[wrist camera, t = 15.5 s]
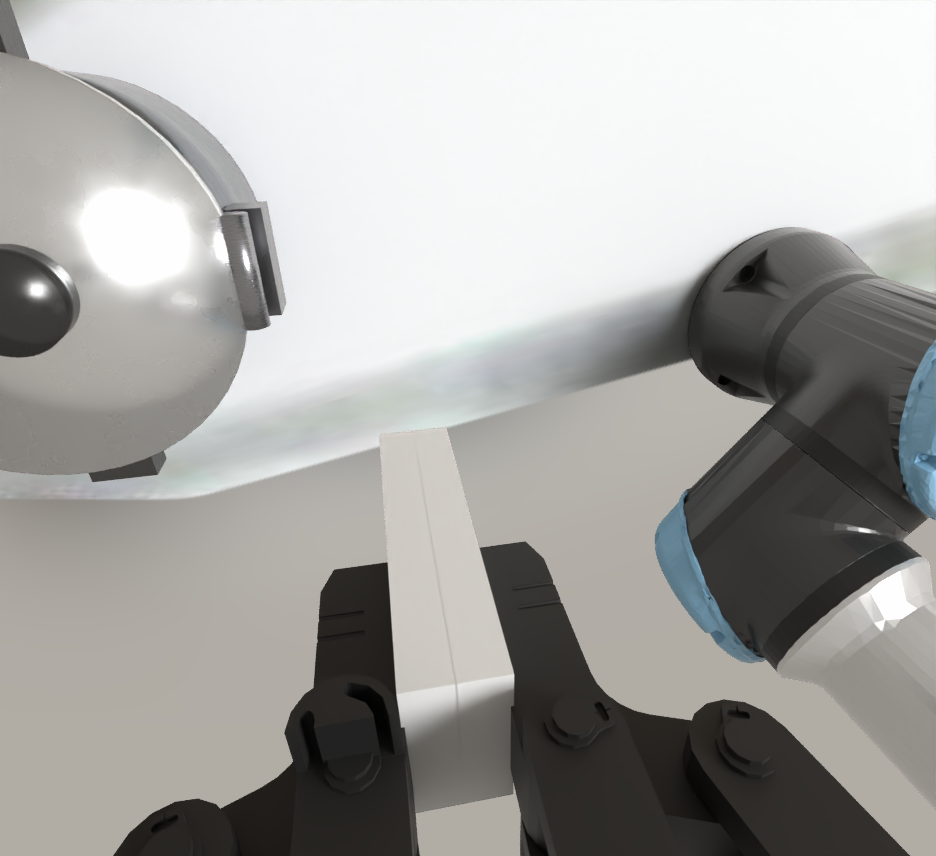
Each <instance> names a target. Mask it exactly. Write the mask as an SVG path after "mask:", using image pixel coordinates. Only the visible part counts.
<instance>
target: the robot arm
mask: <svg viewBox="0 0 936 856" xmlns="http://www.w3.org/2000/svg"><path fill="white" fill-rule="evenodd" d="M688 338H689V347H690V352H691V355H692V358H693V361H694V362H695V365H696V366H697V368H698V369H699V371H700V372H701V373H702V374H703V375H704V376H705V377H706V378H707V379H708V380H709V381H711V382H712V383H713V384H714V385H716V386H717V387H719V388H720V389H721V390H723V391H725V392H726V393H729V394H730V395H733V396H735V397H738V398H742V399H747V400H751V401H756V402H761V403H765V404H770V405H774V406H773V407H772V408H771V409H770V410H769V411H768V412H767V413H766V414H765V415H764V416H763V417H762V418H761V419H760V420H759V421H758V422H757V423H756V424H755V425H754V426H753V427H752V428H751V429H750V430H749V431H748V432H747V433H746V434H745V435H744V436H743V437H742V438H741V439H740V440H739V441H738V442H737V443H736V444H735V445H734V446H733V447H732V448H731V449H730V450H729V451H728V452H727V453H726V454H725V455H724V456H723V457H722V458H721V459H720V460H719V461H718V462H717V463H716V464H715V465H714V466H713V467H712V468H711V469H710V470H709V471H708V472H707V473H706V474H705V475H704V476H703V477H702V478H701V479H700V480H699V481H698V482H697V483H696V484H695V485H694V486H693V487H692V488H690V489H687V490H686V491H685V492H684V493H683V494H682V495H681V498H680V500H679V502H678V504H677V505H676V506H675V507H674V508H673V509H672V510H671V511H670V513H669V514H668V515H667V516H666V517H665V518H664V519H663V520H662V521H661V523H660V524H659V526H658V528H657V530H656V534H655V545H656V546H655V550H656V555H657V559H658V562H659V564H660V567H661V569H662V571H663V574H664V576H665V578H666V579H667V581H668V583H669V585H670V587H671V589H672V590H673V592H674V593H675V595H676V596H677V598H678V599H679V601H680V602H681V604H682V605H683V607H684V608H685V609H686V610H687V612H688V613H689V615H690V616H691V617H692V618H693V620H694V621H695V622H696V623H697V624H698V625H699V627H700V628H701V629H702V630H703V631H704V632H706V633H710V634H711V636H712V637H713V639H714V640H715V642H716V644H717V645H718V646H720V647H721V648H722V649H723V650H724V651H726V652H727V653H728V654H729V655H731V656H732V657H734V658H736V659H738V660H740V661H742V662H746V663H755V662H763V661H765V660H767V661H768V662H769V663H770V664H771V665H772V667H773V668H774V669H775V670H776V671H777V672H778V673H779V674H780V675H781V676H782V677H783V678H788V679H793V680H799V681H805V682H810V683H814V684H816V685H818V686H820V687H823V688H824V689H825V690H826V692H827V693H828V694H829V695H830V696H831V697H832V698H833V699H834V700H835V701H836V702H837V703H838V704H839V706H840V707H841V708H842V709H843V710H844V711H845V712H846V713H847V714H848V715H849V716H850V718H851V719H852V720H853V721H854V722H855V723H856V724H857V725H858V726H859V727H860V728H861V729H862V730H863V732H864V733H865V734H866V735H867V736H868V737H869V738H870V739H871V740H872V741H873V742H874V744H875V745H876V746H877V747H878V748H879V749H880V750H881V751H882V752H883V753H884V754H885V755H886V756H887V758H888V759H889V760H890V761H891V762H892V763H893V764H894V765H895V766H896V767H897V768H898V769H899V771H900V772H901V773H902V774H903V775H904V776H905V777H906V778H907V779H908V780H909V781H910V782H911V784H912V785H913V786H914V787H915V788H916V789H917V790H918V791H919V792H920V793H921V794H922V795H923V797H924V798H925V799H926V800H927V801H928V802H929V803H930V804H931V805H932V806H933V807H934V809H935V810H936V599H935V597H934V596H933V591H932V581H931V572H930V564H929V562H928V561H927V560H926V559H925V558H923V557H922V556H921V555H919V554H918V553H917V552H916V551H914V550H913V549H912V548H911V547H909V546H908V545H907V544H906V543H904V542H903V540H904V538H905V537H907V536H908V535H909V534H910V533H911V532H912V531H913V530H915V529H916V528H917V527H918V526H919V525H921V524H922V523H923V522H924V521H925V520H927V519H928V518H929V517H930V518H932V519H934V520H936V294H933V293H930V292H927V291H923V290H920V289H917V288H914V287H911V286H908V285H904V284H901V283H898V282H895V281H891V280H888V279H885V278H882V277H879V276H877V275H876V274H875V273H874V272H873V271H872V270H871V269H870V268H869V267H868V266H867V265H866V264H865V263H864V262H863V261H862V260H861V259H860V258H859V257H858V256H857V255H856V254H854V252H853V251H852V250H851V249H850V248H849V247H848V246H847V245H845V244H844V243H843V242H841V241H840V240H838V239H836V238H834V237H832V236H830V235H827V234H824V233H820V232H816V231H813V230H809V229H805V228H796V227H790V228H781V229H775V230H772V231H768V232H765V233H763V234H760V235H758V236H756V237H754V238H752V239H750V240H748V241H746V242H745V243H743V244H742V245H740V246H739V247H737V248H736V249H735V250H733V251H732V252H731V253H730V254H729V255H728V256H726V257H725V258H724V259H723V260H722V261H721V262H720V263H719V265H718V266H717V267H716V268H715V269H714V270H713V272H712V273H711V274H710V276H709V277H708V278H707V280H706V281H705V283H704V285H703V286H702V288H701V290H700V292H699V294H698V296H697V298H696V301H695V303H694V306H693V309H692V313H691V317H690V322H689V332H688ZM768 424H769V425H768ZM772 427H773V428H772ZM776 430H777V431H776ZM780 433H781V434H782V435H781V434H780ZM379 439H380V454H381V469H382V484H383V498H384V513H385V529H386V544H387V559H388V562H387V563H379V564H372V565H365V566H358V567H351V568H343V569H336V570H334V571H333V573H332V574H331V576H330V578H329V579H328V581H327V583H326V584H325V586H324V588H323V590H322V591H321V597H320V609H319V623H318V636H317V638H318V643H317V649H316V662H315V677H314V688H313V689H311V690H310V691H309V692H307V693H306V694H305V695H304V696H303V697H302V698H301V700H300V701H299V702H298V704H297V705H296V706H295V708H294V709H293V710H292V711H291V714H290V717H289V720H288V723H287V726H286V730H285V736H286V739H287V742H288V746H289V749H290V752H291V755H292V759H293V762H292V764H291V765H290V766H289V767H288V768H287V769H286V770H285V771H284V772H283V773H282V774H280V775H279V776H278V777H277V778H276V779H274V780H272V781H271V782H269V783H268V784H266V785H265V786H263V787H262V788H260V789H258V790H256V791H254V792H252V793H250V794H248V795H246V796H244V797H242V798H241V799H239V800H236V801H234V802H233V803H231V804H229V805H227V806H225V807H223V808H221V809H220V808H219V807H218V806H217V805H216V804H213V803H210V802H207V801H204V800H200V799H192V800H185V801H179V802H174V803H172V804H170V805H168V806H166V807H164V808H162V809H160V810H158V811H156V812H154V813H152V814H151V815H149V816H148V817H147V818H146V819H145V820H144V821H143V822H141V823H140V824H139V825H138V826H137V827H136V828H135V829H133V830H132V831H131V832H130V833H129V834H128V836H127V837H126V838H125V840H124V841H123V843H122V844H121V846H120V847H119V848H118V850H117V851H116V853H115V854H114V855H113V856H420V854H419V847H418V839H417V827H416V815H415V813H418V812H424V811H429V810H434V809H439V808H444V807H449V806H455V805H460V804H465V803H470V802H475V801H480V800H485V799H490V798H496V797H500V796H505V795H511V794H513V782H514V786H515V790H516V795H517V799H518V803H519V808H520V812H521V831H520V855H521V856H910V855H909V854H907V852H906V851H905V850H904V849H902V847H901V846H900V845H899V844H898V843H897V842H896V841H895V840H894V839H893V838H892V837H891V836H890V835H889V834H888V833H887V832H886V831H885V830H884V829H883V828H882V826H880V824H879V823H878V822H877V821H876V820H875V819H874V818H873V817H872V816H871V815H870V814H869V813H868V812H867V811H866V810H865V809H864V808H863V807H862V806H861V805H860V804H859V803H858V802H857V801H856V800H855V799H854V798H853V797H852V796H851V795H850V794H849V793H848V792H847V790H846V789H845V788H844V787H842V786H841V784H840V783H839V782H838V781H837V780H836V779H835V778H834V777H833V776H832V775H831V774H830V773H829V772H828V771H827V770H826V769H825V768H824V767H823V766H822V765H821V764H820V763H819V762H818V761H817V760H816V759H815V758H814V757H813V755H811V754H810V752H809V751H808V750H807V749H806V748H805V747H804V746H803V745H802V744H801V743H800V742H799V741H798V740H797V739H796V738H795V737H794V736H793V735H792V734H791V733H790V732H789V731H788V730H787V729H786V728H785V727H784V726H783V725H782V724H780V723H779V722H778V721H776V720H775V719H774V718H773V717H772V716H770V715H769V714H768V713H766V712H765V711H763V710H761V709H758V708H756V707H754V706H752V705H749V704H747V703H745V702H738V701H731V700H720V701H716V702H711V703H707V704H706V705H704V706H703V707H702V708H701V709H700V710H698V711H697V712H696V713H695V714H694V716H693V719H692V721H691V720H684V719H677V718H669V717H663V716H656V715H649V714H645V713H641V712H637V711H634V710H632V709H629V708H627V707H625V706H623V705H621V704H619V703H618V702H616V701H615V700H614V699H612V698H611V697H609V696H608V695H607V694H606V693H605V692H604V691H603V690H602V689H601V688H600V686H599V685H598V684H597V683H596V681H595V679H594V678H593V676H592V674H591V672H590V670H589V667H588V665H587V663H586V660H585V658H584V655H583V653H582V651H581V648H580V646H579V643H578V641H577V638H576V636H575V633H574V631H573V629H572V626H571V624H570V621H569V619H568V616H567V614H566V611H565V610H564V607H563V604H562V603H561V601H560V597H559V595H558V592H557V590H556V587H555V585H553V580H552V577H551V575H550V573H549V570H548V568H547V565H546V563H545V561H544V559H543V558H542V557H541V556H540V555H539V554H538V553H537V552H536V551H535V550H534V549H533V548H532V547H531V546H529V544H527V543H526V542H519V543H512V544H504V545H497V546H490V547H482V548H479V545H478V541H477V537H476V534H475V530H474V527H473V523H472V519H471V516H470V512H469V508H468V505H467V502H466V498H465V494H464V491H463V487H462V483H461V479H460V476H459V472H458V469H457V465H456V461H455V458H454V454H453V451H452V447H451V443H450V439H449V436H448V432H447V428H446V427H442V428H433V429H424V430H415V431H406V432H397V433H388V434H379ZM790 441H791V442H790ZM794 444H795V445H794ZM799 448H800V449H799ZM808 455H809V456H808ZM817 462H818V463H817ZM831 473H832V474H831ZM891 520H892V521H891ZM895 523H896V524H895ZM907 532H908V533H909V534H908V533H907Z"/></svg>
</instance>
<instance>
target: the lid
mask: <svg viewBox="0 0 936 856" xmlns="http://www.w3.org/2000/svg"><path fill="white" fill-rule="evenodd" d="M270 324H271V323H270V318H269V313H268V308H267V304H266V299H265V294H264V289H263V284H262V280H261V275H260V270H259V265H258V261H257V256H256V251H255V246H254V242H253V237H252V232H251V227H250V222H249V218H248V213H247V212H243V211H235V212H225V213H223V212H222V210H221V208H220V206H219V205H218V203H217V201H216V200H215V198H214V196H213V194H212V193H211V191H210V190H209V189H208V187H207V186H206V185H205V183H204V182H203V181H202V179H201V178H200V177H199V175H198V174H197V173H196V171H195V170H194V169H193V167H192V166H191V165H190V164H189V163H188V162H187V161H186V160H185V159H184V157H183V156H182V155H181V154H180V153H179V152H178V151H177V150H176V149H175V148H174V147H173V146H172V145H171V143H170V142H168V141H167V140H166V139H165V138H164V137H163V136H162V135H160V134H159V133H158V132H157V131H156V130H155V129H154V128H152V127H151V126H150V125H149V124H148V123H147V122H146V121H144V120H143V119H142V118H140V117H139V116H138V115H136V114H135V113H133V112H132V111H131V110H129V109H128V108H126V107H125V106H123V105H122V104H121V103H119V102H118V101H116V100H115V99H113V98H112V97H110V96H108V95H106V94H105V93H103V92H101V91H99V90H97V89H96V88H94V87H92V86H90V85H88V84H87V83H85V82H83V81H81V80H79V79H77V78H75V77H72V76H70V75H68V74H65V73H63V72H61V71H58V70H56V69H54V68H51V67H49V66H47V65H44V64H41V63H38V62H34V61H31V60H28V59H24V58H21V57H18V56H14V55H11V54H8V53H3V52H0V470H6V471H11V472H20V473H30V474H41V475H70V474H80V473H90V472H98V471H103V470H108V469H113V468H118V467H122V466H125V465H128V464H131V463H134V462H137V461H141V460H144V459H146V458H148V457H150V456H153V455H155V454H157V453H159V452H161V451H163V450H166V449H167V448H169V447H170V446H172V445H174V444H175V443H177V442H178V441H180V440H182V439H183V438H185V437H186V436H187V435H189V434H190V433H191V432H192V431H193V430H195V429H196V428H197V427H198V426H199V425H201V424H202V423H203V422H204V421H205V420H206V418H207V417H208V416H209V415H210V414H211V413H212V412H213V411H214V410H215V409H216V408H217V406H218V405H219V403H220V402H221V400H222V399H223V397H224V396H225V394H226V393H227V391H228V390H229V388H230V386H231V384H232V381H233V379H234V377H235V375H236V373H237V371H238V368H239V365H240V361H241V358H242V354H243V351H244V348H245V343H246V338H247V330H259V329H263V328H266V327H268V326H270Z"/></svg>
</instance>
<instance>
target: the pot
mask: <svg viewBox="0 0 936 856" xmlns="http://www.w3.org/2000/svg"><path fill="white" fill-rule="evenodd" d="M0 52H3V53H8V54H11V55H14V56H18V57H21V58H24V59H28V60H29V57H28V54H27V51H26V48H25V45H24V42H23V39H22V36H21V34H20V31H19V28H18V25H17V22H16V19H15V16H14V13H13V10H12V7H11V4H10V1H9V0H0ZM58 71H59V70H58ZM61 72H63V73H65V74H68V75H70V76H72V77H75V78H77V79H79V80H81V81H83V82H85V83H87V84H88V85H90V86H92V87H94V88H96V89H97V90H99V91H101V92H103V93H105V94H106V95H108V96H110V97H112V98H113V99H115V100H116V101H118V102H119V103H121V104H122V105H123V106H125V107H126V108H128V109H129V110H131V111H132V112H133V113H135V114H136V115H138V116H139V117H140V118H142V119H143V120H144V121H146V122H147V123H148V124H149V125H150V126H151V127H152V128H154V129H155V130H156V131H157V132H158V133H159V134H160V135H162V136H163V137H164V138H165V139H166V140H167V141H168V142H170V143H171V145H172V146H173V147H174V148H175V149H176V150H177V151H178V152H179V153H180V154H181V155H182V156H183V157H184V159H185V160H186V161H187V162H188V163H189V164H190V165H191V166H192V167H193V169H194V170H195V171H196V173H197V174H198V175H199V177H200V178H201V179H202V181H203V182H204V183H205V185H206V186H207V187H208V189H209V190H210V191H211V193H212V194H213V196H214V198H215V200H216V201H217V203H218V205H219V206H220V208H221V210H222V212H223V213H225V212H235V211H243V212H247V213H248V218H249V222H250V227H251V232H252V237H253V242H254V246H255V251H256V256H257V261H258V265H259V270H260V275H261V280H262V284H263V289H264V294H265V299H266V304H267V308H268V313H269V316H273V315H282V313H283V310H284V308H285V305H286V299H285V294H284V289H283V284H282V279H281V273H280V268H279V263H278V258H277V253H276V247H275V242H274V237H273V232H272V227H271V221H270V216H269V211H268V206H267V201H266V202H257V201H256V198H255V196H254V193H253V191H252V189H251V187H250V185H249V184H248V182H247V180H246V178H245V176H244V174H243V173H242V171H241V170H240V168H239V167H238V165H237V164H236V163H235V161H234V160H233V158H232V157H231V155H230V154H229V153H228V152H227V151H226V149H225V148H224V147H223V146H222V145H221V144H220V143H219V141H218V140H217V139H216V138H215V137H214V136H213V135H212V134H211V133H210V132H209V131H208V130H206V129H205V128H204V127H203V126H202V125H201V124H200V123H199V122H198V121H196V120H195V119H194V118H192V117H191V116H190V115H188V114H187V113H186V112H184V111H183V110H182V109H180V108H179V107H177V106H176V105H174V104H172V103H170V102H169V101H167V100H165V99H164V98H162V97H160V96H159V95H157V94H154V93H152V92H150V91H148V90H145V89H143V88H141V87H138V86H136V85H133V84H130V83H127V82H124V81H120V80H117V79H114V78H109V77H103V76H98V75H92V74H85V73H76V72H68V71H61ZM165 460H166V456H165V453H164V450H163V451H161V452H159V453H157V454H155V455H153V456H150V457H148V458H146V459H144V460H141V461H137V462H134V463H131V464H128V465H125V466H122V467H118V468H113V469H108V470H103V471H98V472H90V473H89V475H90V477H91V479H92V482H98V481H107V480H115V479H124V478H133V477H142V476H150V475H158V473H159V471H160V470H161V468H162V466H163V464H164V462H165Z"/></svg>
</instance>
